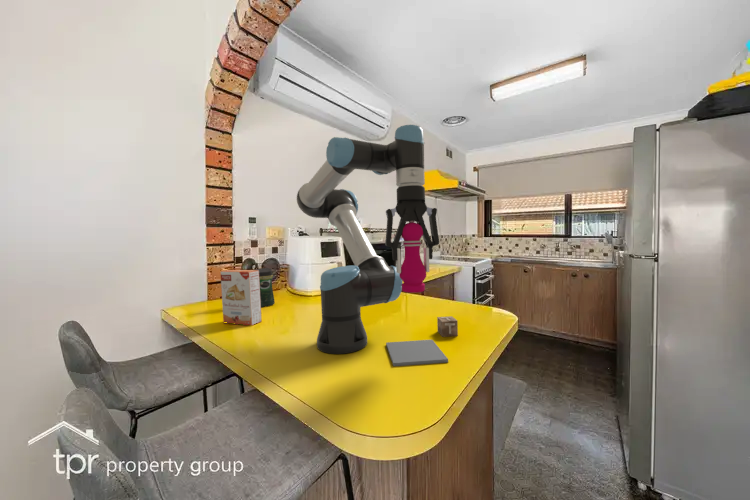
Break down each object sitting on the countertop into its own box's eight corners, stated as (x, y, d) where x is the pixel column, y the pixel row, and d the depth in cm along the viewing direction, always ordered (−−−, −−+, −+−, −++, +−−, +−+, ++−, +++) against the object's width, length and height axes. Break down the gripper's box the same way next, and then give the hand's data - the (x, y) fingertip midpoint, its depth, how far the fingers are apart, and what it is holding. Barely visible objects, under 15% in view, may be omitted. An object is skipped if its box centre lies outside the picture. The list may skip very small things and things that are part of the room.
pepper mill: (426, 293, 74) (424, 215, 73) (398, 292, 75) (396, 216, 74) (427, 288, 81) (425, 216, 80) (401, 287, 82) (399, 218, 81)
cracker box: (222, 324, 113) (219, 271, 112) (234, 319, 118) (231, 269, 118) (251, 326, 108) (248, 271, 107) (262, 321, 114) (259, 269, 113)
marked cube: (442, 337, 91) (442, 321, 90) (437, 331, 96) (437, 316, 96) (457, 336, 91) (457, 320, 91) (452, 331, 96) (451, 315, 96)
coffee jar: (271, 302, 148) (269, 266, 147) (276, 305, 142) (274, 268, 141) (251, 305, 143) (249, 268, 142) (255, 308, 136) (253, 269, 135)
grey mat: (393, 366, 71) (393, 363, 71) (386, 345, 85) (386, 342, 85) (448, 362, 73) (448, 359, 73) (432, 342, 86) (432, 339, 86)
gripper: (374, 184, 72) (377, 275, 73) (451, 183, 74) (453, 272, 75) (372, 189, 80) (375, 271, 81) (442, 188, 81) (443, 268, 82)
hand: (412, 271), depth 78 cm, fingers closed on pepper mill, 7 cm apart
